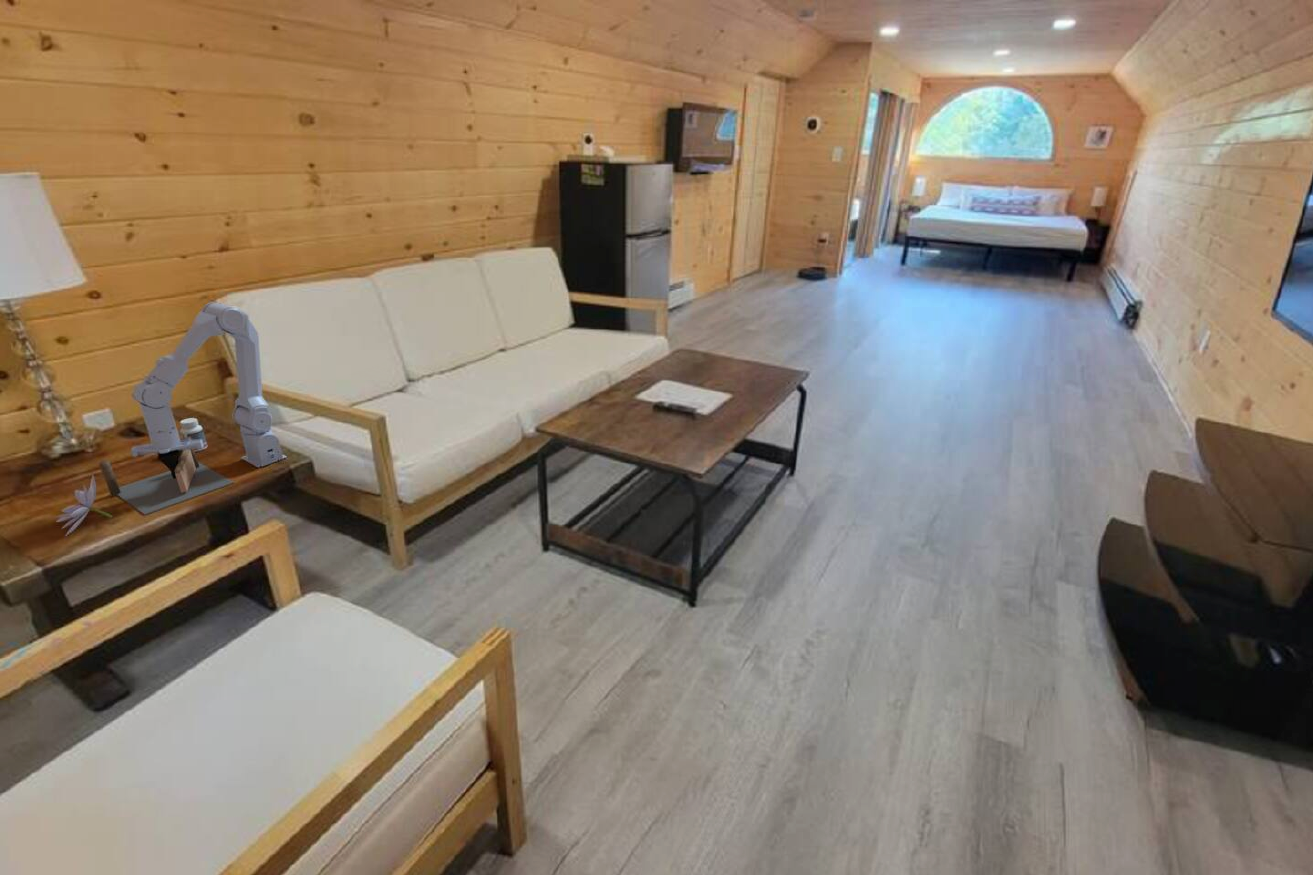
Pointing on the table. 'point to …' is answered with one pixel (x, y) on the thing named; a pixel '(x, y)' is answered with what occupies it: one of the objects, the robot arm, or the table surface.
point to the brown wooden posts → (111, 478)
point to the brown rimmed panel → (185, 470)
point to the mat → (170, 489)
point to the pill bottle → (193, 431)
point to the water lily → (81, 507)
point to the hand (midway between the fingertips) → (177, 476)
